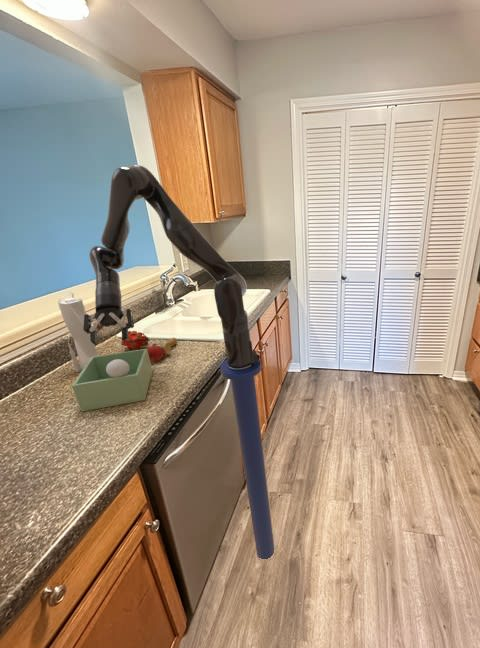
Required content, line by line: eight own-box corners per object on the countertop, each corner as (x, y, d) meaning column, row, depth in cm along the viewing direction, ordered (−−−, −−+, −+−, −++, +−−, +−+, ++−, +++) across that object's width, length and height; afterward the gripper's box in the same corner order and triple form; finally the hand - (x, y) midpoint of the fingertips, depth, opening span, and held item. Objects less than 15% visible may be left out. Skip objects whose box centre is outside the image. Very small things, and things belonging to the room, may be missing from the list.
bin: (152, 370, 118) (147, 348, 114) (144, 400, 100) (137, 374, 97) (99, 379, 113) (91, 356, 110) (81, 411, 96) (71, 385, 92)
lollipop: (131, 377, 110) (130, 356, 98) (129, 393, 107) (127, 373, 95) (110, 376, 107) (106, 355, 96) (107, 393, 104) (103, 373, 93)
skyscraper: (81, 363, 126) (57, 293, 115) (104, 359, 128) (82, 290, 117) (75, 373, 119) (48, 299, 108) (100, 368, 121) (76, 296, 110)
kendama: (164, 346, 140) (140, 361, 123) (165, 333, 138) (140, 345, 121) (181, 350, 139) (159, 364, 122) (182, 336, 137) (160, 349, 120)
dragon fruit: (124, 350, 139) (151, 354, 138) (112, 346, 131) (141, 351, 130) (129, 331, 141) (156, 335, 140) (118, 326, 132) (146, 330, 132)
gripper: (79, 295, 104) (79, 340, 99) (127, 289, 108) (130, 333, 102) (89, 306, 111) (89, 349, 105) (134, 300, 114) (137, 342, 109)
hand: (109, 341), depth 104 cm, fingers open, 8 cm apart
